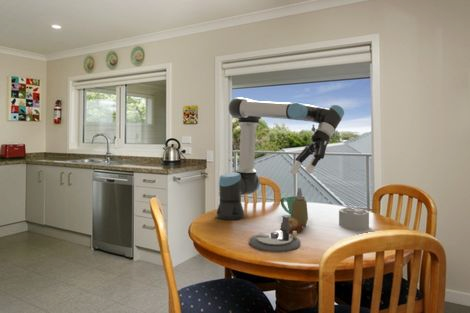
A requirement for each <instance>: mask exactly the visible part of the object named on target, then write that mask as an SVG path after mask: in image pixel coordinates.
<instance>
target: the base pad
mask: <svg viewBox="0 0 470 313" xmlns="http://www.w3.org/2000/svg"><path fill="white" fill-rule="evenodd" d="M297 234H298V233H297V231H293V234H292V235H291V236H292V242H291V243H290V244H287V245H280V246H273V245H265V244H262V243H260V242H258V241H257V235H258V234H256V235H253V236H251V237H250V238H249V245H250V246H251V247H252V248H253V249H257V250H259V251H263V252H271V253H272V252H273V253H280V252H281V253H283V251H285V252H291V251H294V250H297V249H298V248H300V247H301V240H300V239H299V238H298V236H297ZM290 250H291V251H290Z"/></svg>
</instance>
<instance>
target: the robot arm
mask: <svg viewBox="0 0 470 313" xmlns="http://www.w3.org/2000/svg"><path fill="white" fill-rule="evenodd" d="M228 112H229V114H230V116H232V118H235V119H237V120H238V124H239V125H240V137H239V138H240V140H239V141H240V142H239V159H238V160H239V162H238V164H239V165H238V168H237V169H236V171H235V172H227V173H224V174H221V175H220V176H219V181H218V186H219V191H218V193H219V194H218V195H219V205H218V207H217V211H216V218H217V219H220V220H224V221H232V220H233V221H236V220H240V219H243V218H245V211H244V207H243V204H242V196H244V195H251V194H252V193H255V192H256V191H258V189H259V188H260V184H261V183H260V182H261V181H260V178H259V175H258V174H257V170H256V169H255V156H256V155H255V154H256V136H257V135H256V134H257V133H256V132H257V126H258V125H259V124H260V120H261V118H271V119H280V120H281V119H283V120H293V121H294V120H295V121H305V122H311V123H316V124H318V125H317V127H316V129H315V131H313V134H312V135H311V140H312V142H311V143H307V144H306V146H305V148H304V149H302V151H300V153H299V154H298V155H297V156H296V158H295V159H294V160H295V163H294V165H293V166H292V168H291V170H290V171H289V173H291V175H293V176H296V175H297V173H298V172H299V170H300V168H301V167H302V165H303V162H304V161H305V160H306V159H307V158H309V157H310V155H313V156H312V158H311V159H310V161H309V163H308V165H307V167H306V168H305V171H306V172H307V173H308V174H310V175H311V174H312V173H313V171H314V170H315V168H316V166H317V165H318V163H319V161H321V159H322V160H323V159H324V157H325V154H326V149H327V146H328V144H329V142H330V140H331V138H332V137H333V136H334V133H335V131H336V130H337V128H338V125H340V122H341V121H342V119H343V117H344V115H345V110H344V108H343V107H341V106H340V105H337V104H332V105H330V106H329V107H328V108H325V107H321V106H316V105H312V104H307V103H302V102H279V101H278V102H277V101H261V100H260V101H258V100H256V99H253V98H248V97H247V98H246V97H242V96H241V97H239V96H238V97H235V98H232V100H231V101H229V104H228Z"/></svg>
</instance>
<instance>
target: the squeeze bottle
mask: <svg viewBox="0 0 470 313" xmlns="http://www.w3.org/2000/svg"><path fill="white" fill-rule="evenodd" d="M302 193H303V191H302V187H298V189H297V193H296V194H295V195H294V197H295V200H293V204H292V213H291V215H290V217H291V218H296V219H298V220H299V221H300V222H301V224H303V227H305V226H306V225H307V222H308V220H309V215H308V204H307V200H306V199H305V200H304V198H305V195H303V194H302Z"/></svg>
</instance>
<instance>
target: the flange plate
mask: <svg viewBox="0 0 470 313" xmlns="http://www.w3.org/2000/svg"><path fill="white" fill-rule="evenodd" d="M289 217H290V216H289V215H282V221H283V232H282V231H281V230H276V231H266V232H264V231H263V232H261V233H259V234H256V235H257V241H258V242H260V243H262V244H265V245H273V246H280V245H287V244H290V243H291V242H292V236H293V235H292V234H289Z"/></svg>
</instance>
